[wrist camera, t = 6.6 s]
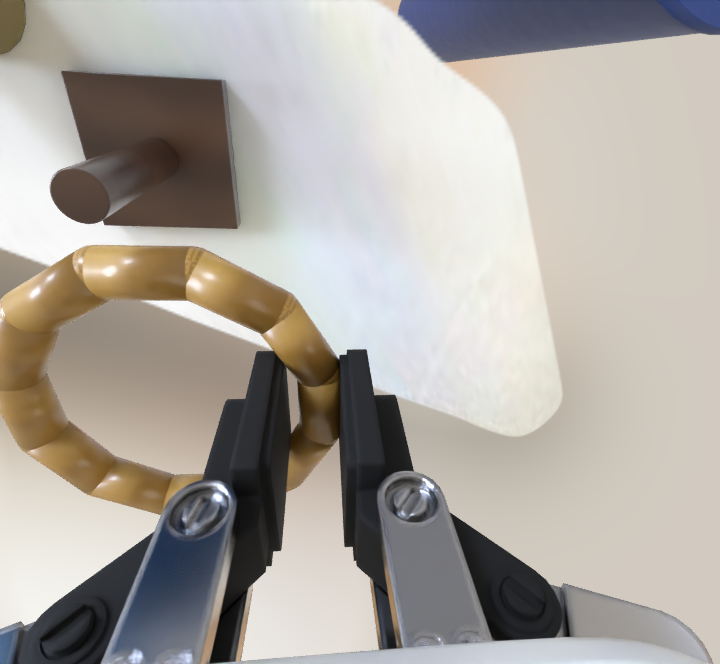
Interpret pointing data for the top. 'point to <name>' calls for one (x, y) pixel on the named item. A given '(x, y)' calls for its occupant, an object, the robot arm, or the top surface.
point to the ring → (151, 282)
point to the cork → (11, 23)
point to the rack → (149, 152)
